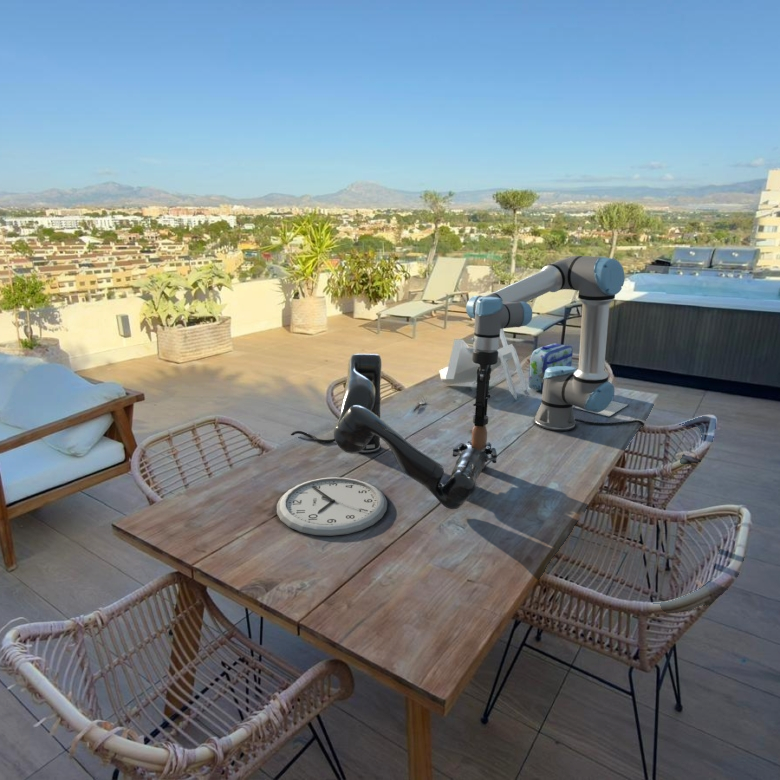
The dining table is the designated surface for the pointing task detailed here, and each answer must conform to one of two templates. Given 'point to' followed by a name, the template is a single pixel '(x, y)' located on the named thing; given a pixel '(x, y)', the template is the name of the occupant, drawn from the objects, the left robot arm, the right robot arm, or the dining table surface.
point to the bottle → (479, 438)
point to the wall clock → (331, 506)
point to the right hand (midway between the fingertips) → (480, 421)
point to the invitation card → (609, 408)
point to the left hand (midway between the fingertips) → (480, 443)
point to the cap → (484, 419)
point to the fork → (420, 403)
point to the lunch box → (547, 362)
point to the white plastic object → (466, 369)
